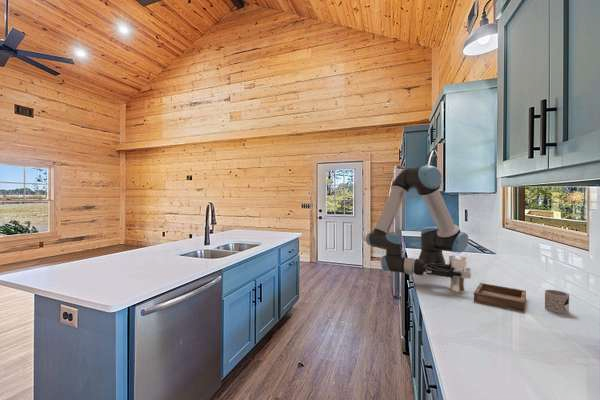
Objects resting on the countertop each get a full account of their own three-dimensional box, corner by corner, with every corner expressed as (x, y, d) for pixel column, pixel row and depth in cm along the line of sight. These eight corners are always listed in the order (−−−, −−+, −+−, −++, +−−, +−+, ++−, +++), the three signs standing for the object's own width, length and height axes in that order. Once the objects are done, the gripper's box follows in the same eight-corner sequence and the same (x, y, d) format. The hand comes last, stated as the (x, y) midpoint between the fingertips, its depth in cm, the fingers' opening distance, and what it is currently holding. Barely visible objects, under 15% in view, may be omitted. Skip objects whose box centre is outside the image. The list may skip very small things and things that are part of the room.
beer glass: (469, 293, 123) (469, 259, 123) (453, 293, 123) (453, 259, 123) (460, 287, 130) (460, 255, 130) (445, 287, 130) (445, 255, 130)
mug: (570, 316, 100) (570, 297, 100) (545, 311, 104) (545, 293, 104) (566, 306, 108) (566, 289, 108) (543, 302, 112) (543, 286, 112)
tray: (480, 290, 126) (480, 282, 126) (525, 299, 115) (526, 290, 115) (473, 301, 114) (473, 292, 114) (524, 311, 103) (524, 302, 103)
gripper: (417, 269, 144) (470, 275, 132) (411, 279, 127) (470, 288, 115) (417, 254, 144) (470, 259, 132) (411, 263, 127) (470, 270, 115)
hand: (470, 273), depth 124 cm, fingers closed on beer glass, 7 cm apart
